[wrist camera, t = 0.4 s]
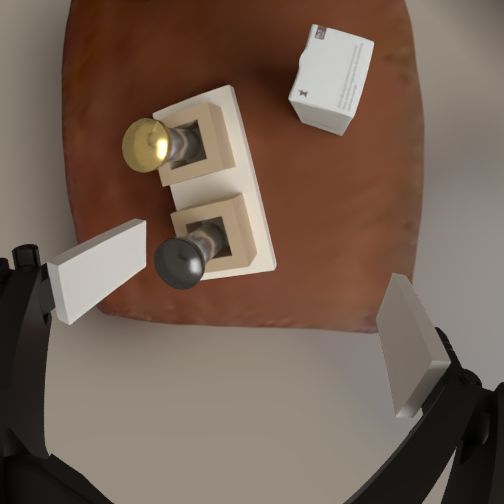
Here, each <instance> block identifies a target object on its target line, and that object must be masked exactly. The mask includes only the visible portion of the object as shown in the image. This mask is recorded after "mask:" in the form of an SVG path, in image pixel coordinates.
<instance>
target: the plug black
mask: <svg viewBox="0 0 504 504" xmlns="http://www.w3.org/2000/svg"><path fill="white" fill-rule="evenodd" d="M224 244H225V235H224V232H223V231H222V229H221V228H220V227H219V226H217V225H216V224H213V223H206V224H204V225H202V226H200V227H199V228H197V229H196V230H194V231H193V232H191V233H190V234H188V235H187V236H185V237H172V238H170V239H168V240H166V241H165V242H163V243H162V244H160V245H159V247H158V248H157V250H156V252H155V256H154V263H155V268H156V270H157V273H158V275H159V276H160V278H161V279H162V280H163V281H164V282H165V283H166V284H168V285H169V286H171V287H173V288H176V289H181V290H184V289H189V288H191V287H193V286H194V285H196V284H197V283H198V281H199V280H200V279H201V278H202V277H203V275H204V272H205V264H206V263H207V262H208V261H209V260H211V259H212V258H213V257H214V256H215V255H216V254H217V253H218V252H219V251H220V250H221V249H222V247H223V246H224Z"/></svg>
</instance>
